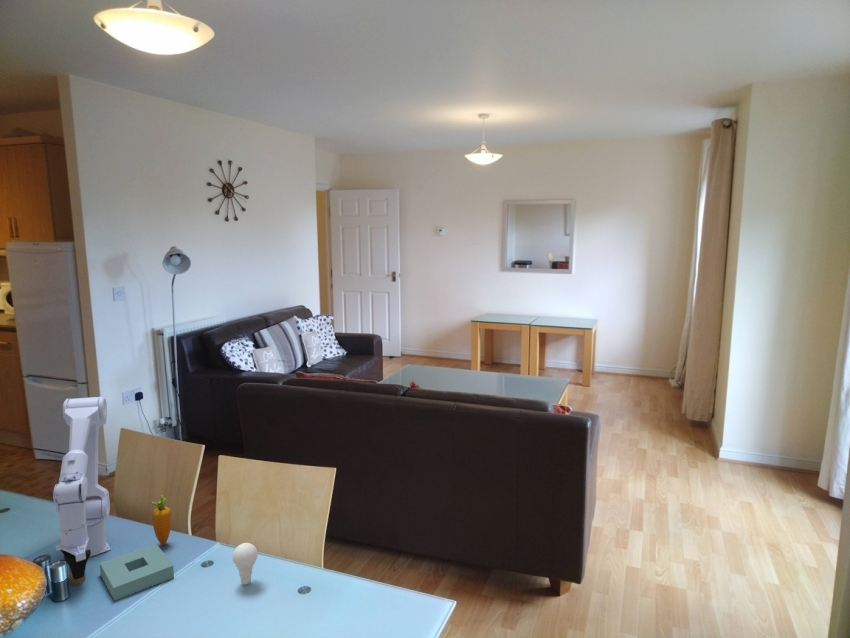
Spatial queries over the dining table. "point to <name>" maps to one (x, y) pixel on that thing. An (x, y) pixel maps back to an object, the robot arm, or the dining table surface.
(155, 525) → the carrot
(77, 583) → the peg
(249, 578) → the lightbulb
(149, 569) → the socket block
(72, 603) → the dining table surface
